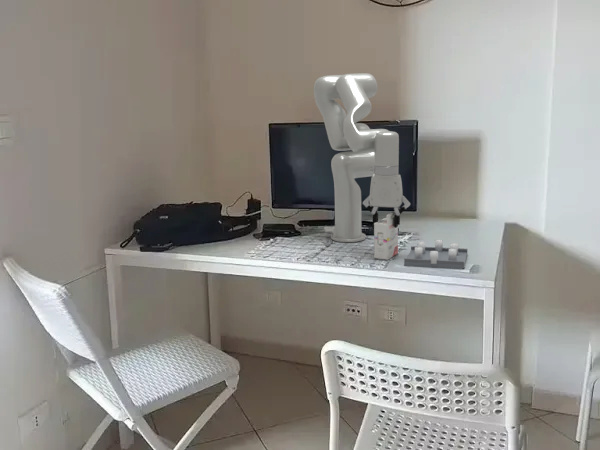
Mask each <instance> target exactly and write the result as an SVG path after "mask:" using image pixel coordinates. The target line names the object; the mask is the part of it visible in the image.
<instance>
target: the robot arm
mask: <svg viewBox="0 0 600 450" xmlns="http://www.w3.org/2000/svg"><path fill="white" fill-rule="evenodd" d="M377 92H378V82H377V80H376V78H375V76H374V75H372V74H371V73H366V72H365V73H364V72H363V73H361V72H360V73H359V72H358V73H345V74H331V75H330V74H329V75H324V76H320V77H318V78H317V79H316V80H315V82H314V85H313V97H314V101H315V105H316V107H317V108H318V110H319V112H320V114H321V117H322V119H323V123H324V126H325V130H326V131H325V132H326V134H327V139H328V141H329V144H330V148H331V149H332V150H334V151H339V152H338V153H336V154H334V156H333V157H332V159H331V162H330V163H331V165H330V167H331V173H332V177H333V184H334V185H333V188H334V191H333V192H334V225H333V226H324V228H323V231H324V233H328V234H331V235H330V238H331V240H332V241H335V242H339V243H357V242H362V241H364V240H366V239H367V235H366V233H363V232H362V205H363V206H364V207H365V208H367V210H368V211H369V212H370V213H371V215H372V224H373V225H374V223H376V222H378V221H379V213H378V210H379V208H393V211H395V216H394V215H393V217H394V227H395V228H397V227H398V228H399V225H400V223H401V222H400V221H401V214H403V212H405V210H407V208H409V207H410V206H411V202H410V201H409V200H408V199H407V198H406V196H404V195H403V194H404V193H403V182H402V177H401V174H399V161H400V160H399V158H400V157H399V155H400V151H399V150H400V147H399V146H400V138H399V137H400V136H399V133H397V132H396V131H392V130H391V131H390V130H388V129H385V128H375V129H373V128H370V127H369V126H368V125H367V124H366V123H362V122H359V121H362V120H363V119H364V118H366V117H368V115H370V113H371V111H372V109H373V108H372V103H371V101H370V99H371V98H373V97H375V95H376V94H377ZM336 100H340V101H341V103H342V105H343V107H344V108H343V107H342V105H341V104H340V103H339V102H337V101H336ZM367 177H371V178H370V179H371V180H370V188H369V195H368V196H367V197H366V198H365V199H364V200H363V201H362V190H361V188H360V185H359V184H358V183H357V181H356V179H359V178H367ZM402 204H404V205H403V206H401V205H402Z"/></svg>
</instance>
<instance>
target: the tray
mask: <svg viewBox="0 0 600 450" xmlns="http://www.w3.org/2000/svg"><path fill="white" fill-rule="evenodd" d="M443 243H444V241H443V240H442V239H436V240H434V246H426V242H425V241H418V242H417V246H416V245H411V246H410V251H409V253H408V255H407V256H406V257H404V260H403V262H404V263H403V265H404V266H406V267H420V268H421V267H422V268H437V267H438V268H439V267H440V269H441V268H442V269H455V268H464V269H465V267H464V266H466V263H467V257H468V248H459V243H456V242H452V243H450V247H443V246H444V244H443ZM438 268H437V269H438Z"/></svg>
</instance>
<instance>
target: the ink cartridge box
mask: <svg viewBox="0 0 600 450" xmlns="http://www.w3.org/2000/svg"><path fill="white" fill-rule="evenodd" d="M392 216H393V217H392ZM394 216H395V210H393V212H390V213H388V214H386V217H385V218H382V219H380V220H378V222H376V223H374V224H373V228H374V229H373V235H374V236H373V238H374V240H373V243H374V257H373V258H374V259H381V260H386V261H387V260H389V259H391V258H392V257H395V256H396V255H397V254H399V226H398V227H397V228H395V227H394ZM391 217H392V218H391Z"/></svg>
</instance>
